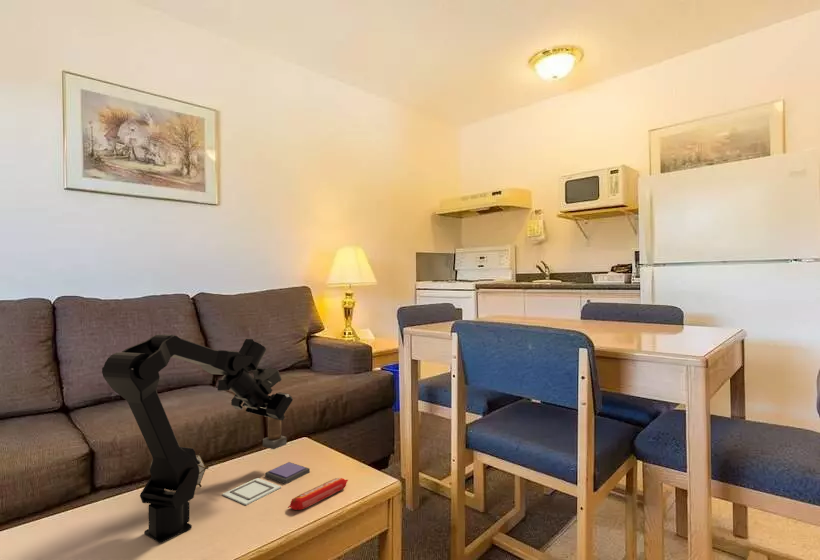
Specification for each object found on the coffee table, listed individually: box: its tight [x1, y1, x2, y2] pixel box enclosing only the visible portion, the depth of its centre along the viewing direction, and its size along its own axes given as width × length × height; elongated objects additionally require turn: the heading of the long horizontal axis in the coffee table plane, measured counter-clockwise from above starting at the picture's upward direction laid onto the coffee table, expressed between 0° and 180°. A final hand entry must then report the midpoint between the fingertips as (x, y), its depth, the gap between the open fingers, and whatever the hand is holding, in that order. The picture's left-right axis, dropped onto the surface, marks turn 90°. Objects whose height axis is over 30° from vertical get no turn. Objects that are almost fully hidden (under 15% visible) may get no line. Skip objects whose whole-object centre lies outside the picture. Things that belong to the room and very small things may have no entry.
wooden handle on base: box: [262, 417, 287, 450], centre depth 117 cm, size 4×4×13 cm
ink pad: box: [264, 461, 311, 485], centre depth 113 cm, size 8×8×1 cm
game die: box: [196, 451, 210, 488], centre depth 106 cm, size 9×8×10 cm
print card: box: [222, 477, 282, 506], centre depth 104 cm, size 10×9×1 cm
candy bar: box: [287, 477, 349, 511], centre depth 100 cm, size 16×4×3 cm, turn 142°
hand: (278, 417), depth 118 cm, fingers closed on wooden handle on base, 3 cm apart
